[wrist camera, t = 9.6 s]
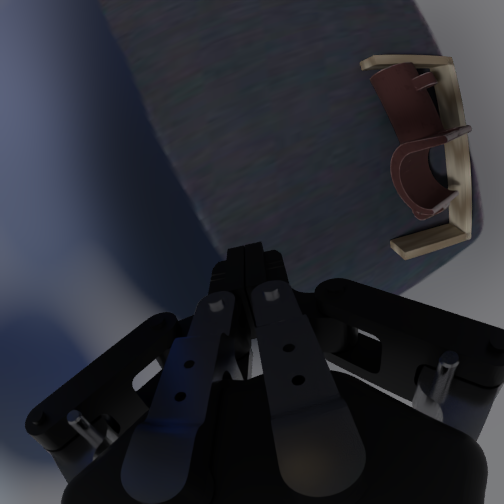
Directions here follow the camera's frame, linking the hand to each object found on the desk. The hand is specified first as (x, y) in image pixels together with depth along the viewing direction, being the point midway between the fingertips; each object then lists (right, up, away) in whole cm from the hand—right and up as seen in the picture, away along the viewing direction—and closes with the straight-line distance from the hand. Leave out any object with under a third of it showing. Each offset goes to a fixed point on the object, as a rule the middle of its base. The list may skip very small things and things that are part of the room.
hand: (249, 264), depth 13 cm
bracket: (+18, +14, +17) cm, 29 cm away
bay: (+20, +13, +17) cm, 29 cm away
